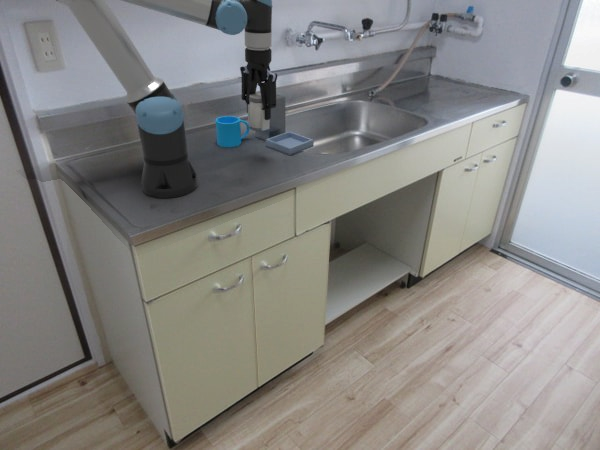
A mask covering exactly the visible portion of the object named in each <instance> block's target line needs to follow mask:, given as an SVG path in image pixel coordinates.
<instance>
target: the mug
mask: <svg viewBox="0 0 600 450" xmlns="http://www.w3.org/2000/svg"><path fill="white" fill-rule="evenodd" d="M241 123H243V124H244V125H245V126H246V131H245V132H244V133H243V135H242V133H241V132H242V130H241ZM215 130H216V141H217V142H216V143H217V145H218V146H219V147H222V148H234V147H239V146H241V144H242V139H244V138H246V137H247V135H249V133H250V130H251V129H250V126H249V125H248V121H246V120H243V119H241V118H239V117H238V116H234V115H224V116H219V117H216V118H215Z"/></svg>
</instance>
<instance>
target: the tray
mask: <svg viewBox="0 0 600 450" xmlns="http://www.w3.org/2000/svg"><path fill="white" fill-rule="evenodd" d="M314 143H315V142H314V139H312V138H309V137H307V136H304V135H301V134H299V133H295V132H293V131H290V130H288V131H285V133H283V134H280V135H277V136H274V137H272V138H269V139H266V140H265V147H267V148H269V149H271V150H274V151H277V152H280V153H282V154H284V155H288V156H293V155H296V154H298V153H300V152H303V151H305V150H308V149H310V148H313V147H314Z"/></svg>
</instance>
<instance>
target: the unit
mask: <svg viewBox="0 0 600 450" xmlns="http://www.w3.org/2000/svg"><path fill="white" fill-rule="evenodd" d="M283 133H286V96H283V95H281V94H277V93H276V107H275V108H271V118H270V120H269V129H267V130H264V131H255V134H254V135H255V137H256V138H258V139H261V140H264V141H266V139H269V138H272V137H274V136H277V135H280V134H283Z"/></svg>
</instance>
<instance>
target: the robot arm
mask: <svg viewBox="0 0 600 450" xmlns="http://www.w3.org/2000/svg"><path fill="white" fill-rule="evenodd" d="M55 1H56V3H59V4H62V5H65V6H67V7H68V9H69V10H70V12H71V13H72V15H73V16H74V17H75V19H76V20H77V22H78V23H79V25H80V26H81V28H82V30H83V31H84V33H86V35H87V37H88V38H89V40H90V41H91V42H92V43H93V45H94V47H95V48H96V50H97V51H98V53H99V55H100V56H101V57H102V58H103V59H104V61H105V63H106V64H107V66H108V67H109V68H110V70H111V71H112V73H113V75H114V76H115V77H116V78H117V80H118V82H119V83H120V85H121V86H122V87H123V89H124V90H125V92H126V97H125V101H126V103H127V105H128V106H129V107H130V109H131V110H132V111H133V113H134V114H135V121H136V124H137V128H138V135H139V141H140V145H141V152H142V156H143V157H142V158H143V163H144V164H143V168H142V173H141V178H140V179H141V180H140V185H141V189H142V192H143V193H144V194H145V195H147V196H149V197H153V198H157V199H158V198H159V199H160V198H161V199H172V198H177V197H181V196H184V195H187V194H190V193H192V192H193V191H195V189H196V188H197V187H198V184H199V181H198V176H197V172H196V170H195V169H194V167H193V165H192V163H191V160H190V158H189V152H188V145H187V136H186V128H185V113H184V111H183V106H182V104H181V102H179V101H178V99H177V97H176V96H175V94H173V93H172V92H171V90H170V89H169V88H168V85H167V84H166V83H165V81H164V79H162V78H160V77H155V75H154V74H153V73H152V71H151V69H150V68H149V66H148V65H147V63H146V61H145V60H144V59H143V56H142V55H141V54H140V52H139V51H138V49H137V47H136V46H135V44H134V42H133V41H132V40H131V39H132V38H130V36H129V34H128V33H127V31H126V30H125V28H124V27H123V26H122V24H121V22H120V21H119V19H118V17H117V16H116V14H115V13H114V11H113V10H112V8H111V6H110V4H109V3H108V2H107V0H55ZM120 1H121V2H124V3H128V4H132V5H135V6H139V7H141V8H145V9H148V10H153V11H155V12H158V13H162V14H165V15H169V16H172V17H175V18H178V19H182V20H184V21H189V22H192V23H195V24H199V25H202V26H204V27H205V26H206V27H208V28H211V29H215V30H218V31H220V32H222V33H223V34H225V35H230V36H235V35H239V34H241V33H243V31H244V46H245V49H244V61H245V62H246V63H247V64H246V65H245V66H240V67H239V70H240V75H241V100H242V101H245V104H246V113H247V123H248V125H249V127H250V101H249V96H250V94H255V93H257V87H259V93H261V98H262V103H263V108H261V130H262V131H264V130H267V129H269V120H270V118H271V108H275V107H276V94H277V80H278V74H277V73H273V72H272V71H271V68H270V64H271V62H272V55H273V54H272V49H271V47H272V38H273V37H272V34H273V33H272V26H273V25H272V21H273V19H272V17H273V16H272V14H273V0H120Z"/></svg>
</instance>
